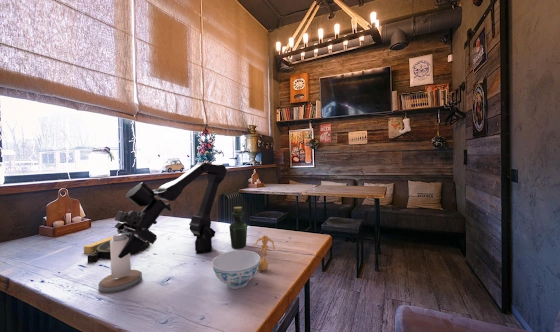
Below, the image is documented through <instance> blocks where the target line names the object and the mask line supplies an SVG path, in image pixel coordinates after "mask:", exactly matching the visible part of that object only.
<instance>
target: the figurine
mask: <svg viewBox="0 0 560 332" xmlns="http://www.w3.org/2000/svg"><path fill="white" fill-rule="evenodd" d="M260 241H261V243H262V244H261V245H260V250H259V253H260V254H261V256H260V263H259V267H258V270H259V271H261V272H264V271H266V270H268V267H269V262H268V260H267V259H266V258H267V254H268V253H267V252H268V248H269V245H268V242H271V243H272V249H273V251H275V250H276V249H275V244H274V241H273V240H272V239H271V238H270V237H269V236H268V235H265V234H263V235H262V237H260V238H257V240H256V242H255V243H254V245H253V248H255V247H256V245H257V244H258V242H260ZM263 251H264V253H263ZM263 254H264V258H263Z"/></svg>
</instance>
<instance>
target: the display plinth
mask: <svg viewBox="0 0 560 332" xmlns="http://www.w3.org/2000/svg"><path fill="white" fill-rule="evenodd" d="M142 280H143V273H142V271H140V270H138V269H131V273H130V274H129V275H127V276H125V277H121V278H112V277H111V274H109V275H106V276H105V277H104V278H102V279H101V280H100V281H99V283H98V292H100V293H102V294H115V293H119V292H122V291H126V290H129V289H131V288H134V287H135V286H137V285H138V284H139V283H141V282H142Z"/></svg>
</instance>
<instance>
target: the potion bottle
mask: <svg viewBox="0 0 560 332" xmlns="http://www.w3.org/2000/svg"><path fill="white" fill-rule="evenodd" d="M243 216H245V212H244V211H243V206H234V207H233V212H232V213H231V217H233V218H234V221H233V222H231V223H230V224H229V236H230V244H231V249H234V250H242V249H245V248H246V247H247V237H248V235H247V234H248V224H247V223H246V222H245V221H243V220H242V219H243Z"/></svg>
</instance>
